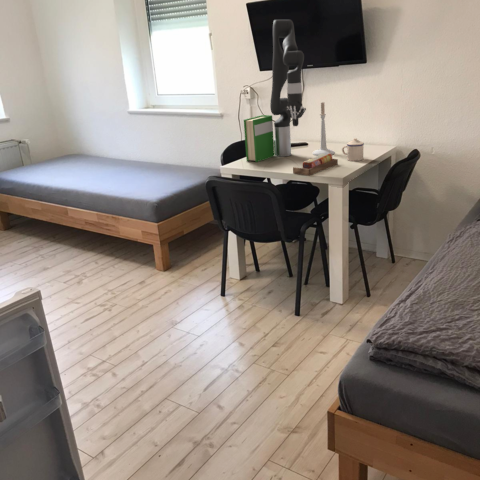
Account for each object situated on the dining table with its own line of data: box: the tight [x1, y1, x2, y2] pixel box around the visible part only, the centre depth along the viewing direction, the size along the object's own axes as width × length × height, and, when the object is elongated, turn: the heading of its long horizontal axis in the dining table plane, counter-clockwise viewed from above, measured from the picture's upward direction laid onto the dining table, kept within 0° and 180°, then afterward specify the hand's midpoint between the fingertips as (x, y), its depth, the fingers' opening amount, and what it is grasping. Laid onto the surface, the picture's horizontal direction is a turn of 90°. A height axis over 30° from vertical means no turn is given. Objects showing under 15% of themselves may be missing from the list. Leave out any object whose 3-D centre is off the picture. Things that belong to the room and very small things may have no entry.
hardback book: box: [243, 114, 275, 163], centre depth 303 cm, size 18×7×24 cm, turn 141°
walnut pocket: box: [292, 158, 339, 176], centre depth 272 cm, size 10×26×3 cm, turn 137°
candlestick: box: [312, 101, 335, 157], centre depth 302 cm, size 13×13×30 cm
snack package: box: [302, 152, 333, 169], centre depth 272 cm, size 21×7×7 cm, turn 141°
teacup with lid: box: [341, 137, 365, 162], centre depth 285 cm, size 12×9×12 cm
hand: (295, 125), depth 273 cm, fingers closed
